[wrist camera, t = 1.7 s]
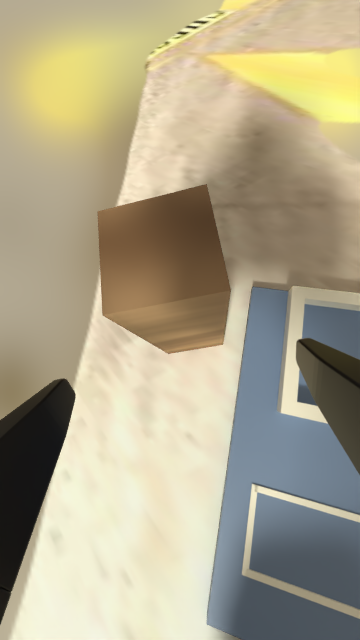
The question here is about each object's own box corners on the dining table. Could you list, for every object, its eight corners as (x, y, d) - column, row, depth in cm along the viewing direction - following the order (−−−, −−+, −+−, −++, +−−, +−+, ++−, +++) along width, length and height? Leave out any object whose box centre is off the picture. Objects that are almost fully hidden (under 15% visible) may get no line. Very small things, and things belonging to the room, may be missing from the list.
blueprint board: (454, 716, 13) (496, 775, 11) (207, 612, 16) (205, 644, 14) (430, 312, 18) (455, 304, 16) (251, 290, 21) (254, 281, 19)
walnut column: (222, 344, 20) (230, 290, 8) (168, 353, 21) (102, 315, 9) (212, 293, 22) (206, 184, 10) (161, 303, 22) (97, 211, 10)
